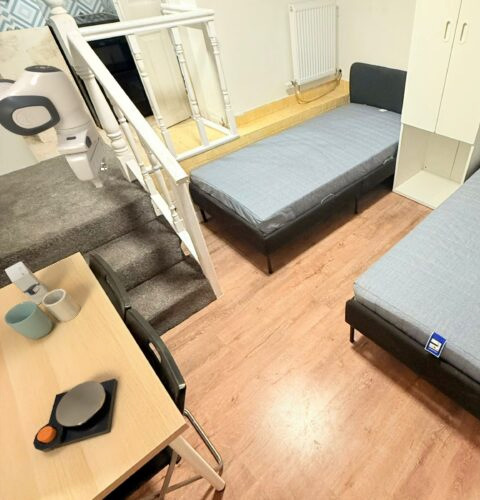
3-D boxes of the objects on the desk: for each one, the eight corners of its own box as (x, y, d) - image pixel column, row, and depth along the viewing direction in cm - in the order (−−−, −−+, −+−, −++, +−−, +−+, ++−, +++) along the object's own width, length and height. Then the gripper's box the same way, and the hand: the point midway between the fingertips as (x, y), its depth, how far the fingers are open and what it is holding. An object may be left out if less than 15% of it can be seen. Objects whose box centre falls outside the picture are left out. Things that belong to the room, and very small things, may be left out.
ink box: (27, 292, 111) (3, 269, 103) (43, 283, 114) (21, 260, 105) (36, 306, 107) (11, 282, 99) (53, 296, 110) (29, 273, 101)
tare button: (40, 444, 75) (35, 442, 74) (43, 431, 77) (39, 428, 76) (54, 440, 76) (50, 438, 74) (58, 426, 78) (53, 424, 77)
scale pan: (51, 433, 76) (50, 432, 76) (63, 389, 84) (61, 388, 83) (101, 418, 78) (100, 418, 78) (108, 376, 86) (107, 375, 85)
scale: (39, 457, 76) (29, 453, 74) (55, 398, 86) (47, 392, 83) (109, 436, 79) (102, 431, 76) (117, 381, 88) (111, 375, 86)
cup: (49, 316, 104) (29, 296, 97) (61, 328, 101) (41, 309, 94) (22, 334, 100) (-1, 315, 93) (34, 348, 96) (10, 329, 89)
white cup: (55, 323, 102) (38, 308, 96) (60, 307, 106) (44, 291, 101) (77, 318, 103) (62, 302, 98) (82, 302, 108) (68, 286, 102)
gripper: (73, 119, 95) (97, 162, 105) (55, 152, 81) (84, 199, 91) (97, 116, 96) (119, 159, 106) (83, 148, 82) (109, 194, 92)
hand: (103, 177), depth 98 cm, fingers open, 8 cm apart
